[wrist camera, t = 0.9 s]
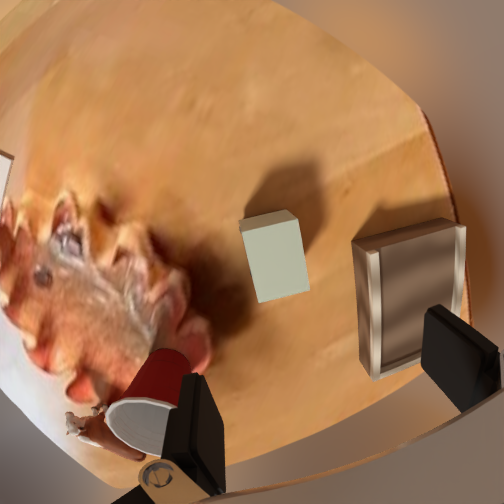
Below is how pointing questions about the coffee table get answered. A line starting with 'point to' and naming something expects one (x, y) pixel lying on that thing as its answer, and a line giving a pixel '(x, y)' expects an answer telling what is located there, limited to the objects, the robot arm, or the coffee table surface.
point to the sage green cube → (275, 255)
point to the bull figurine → (100, 434)
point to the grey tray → (405, 290)
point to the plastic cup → (149, 402)
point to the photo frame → (4, 177)
